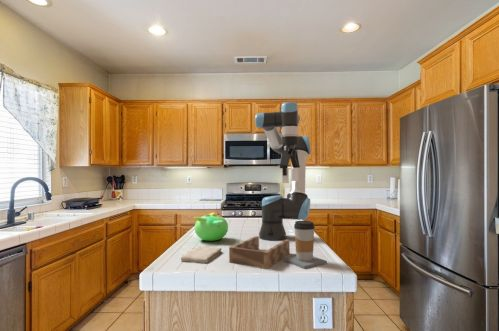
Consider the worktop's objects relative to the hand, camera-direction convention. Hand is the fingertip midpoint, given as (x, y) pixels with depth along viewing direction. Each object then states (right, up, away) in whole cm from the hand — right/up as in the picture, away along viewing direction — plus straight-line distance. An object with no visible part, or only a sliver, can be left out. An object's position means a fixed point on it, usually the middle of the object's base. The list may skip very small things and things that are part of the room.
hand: (290, 182), depth 131 cm
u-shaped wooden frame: (-14, -32, -10) cm, 36 cm away
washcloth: (-39, -33, -8) cm, 52 cm away
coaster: (+3, -31, -17) cm, 36 cm away
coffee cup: (+3, -31, -17) cm, 35 cm away
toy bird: (-40, -33, +21) cm, 56 cm away
